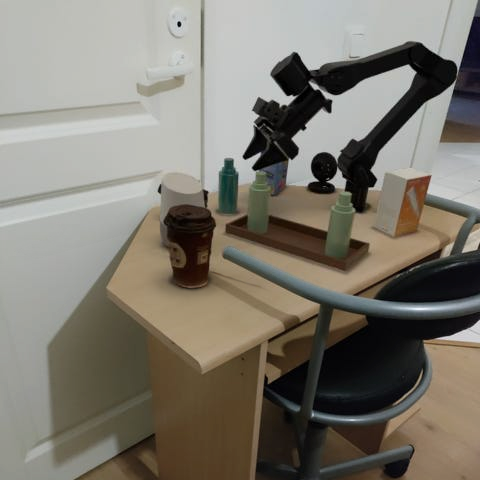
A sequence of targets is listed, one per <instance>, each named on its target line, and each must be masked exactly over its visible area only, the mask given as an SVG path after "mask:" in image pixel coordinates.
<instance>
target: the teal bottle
mask: <svg viewBox="0 0 480 480" xmlns="http://www.w3.org/2000/svg"><path fill="white" fill-rule="evenodd" d="M239 173H240V172H238V171H237V168H236V167H235V159H234V158H233V157H225V158H223V166H222V167H221V170H219V171H218V182H217V183H218V184H217V185H218V188H217V193H218V194H217V195H218V196H217V202H218V203H217V211H218V212H219V213H220V214H224V215H233V214H236V213H237V212H238V204H239V203H238V201H239V178H240V176H239Z"/></svg>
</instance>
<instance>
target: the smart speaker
mask: <svg viewBox="0 0 480 480" xmlns="http://www.w3.org/2000/svg"><path fill="white" fill-rule="evenodd" d="M199 180H200V179H198V178H196V177H194V176H193V175H190V174H187V173H183V172H177V171H175V172H174V171H173V172H167V173H166V174H164V175H163V176H162V177H161V183H160V184H161V194H160V208H159V209H160V210H159V232H160V233H159V234H160V238H161V241H162V243H163V245H164V246H165V247H167V248H168V240H167V226H166V225H165V224H164V223H163V220H164V218H165V216H166V215H167V213H168V212H169V211H168V210H169V209H170V208H171V207H173V206H178V205H183V204H187V205H188V204H189V205H194V206H198V207H204V208H205V203H204V195H203V190H204V188H203V184H202V183H201V180H200V181H199Z"/></svg>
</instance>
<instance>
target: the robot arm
mask: <svg viewBox="0 0 480 480" xmlns="http://www.w3.org/2000/svg"><path fill="white" fill-rule="evenodd" d="M406 66H409V67H410V68H411V69H412V71H413V72H415V74H414V76H413V78H412V81H411V84H410V86H409V89H408V90H407V91H406V92H405V93H404V94H403V95H402V96H401V98H400V99H398V101H397V102H396V103H395V104H394V105H393V106H392V107H391V109H389V110H388V111H387V112H386V113H385V115H384V116H383V117H382V118H381V119H380V120H379V121H378V122H377V123H376V124H375V126H374V127H373V128H372V129H371V130H370V131H369V132H368V134H366V136H364V137H363V138H361V139H360V140H356V139H355V138H351V139H350V140H349V141H348V143H347V144H346V145H345V146H344V148H342V149H341V150H340V149H339V152H340V154H339V156H338V157H337V159H336V161H337V166H338V167H337V170H338V171H340V172H341V177H342V179H345V185H344V191H343V192H350V193H351V194H352V195H351V201H350V203H352V205H353V206H352V207H353V208H354V209H355V212H357V213H364V212H365V210H366V209H368V208H369V207H370V205H371V204H370V203H369V202H367V198H368V194H369V189H371V188H372V189H373V188H375V186H376V184H377V182H378V178H377V176H376V175H375V174H374V173H373V172H372V169H373V167H374V165H375V164H376V162H377V160H378V156H379V153H380V152H381V150H383V148H384V147H385V146H386V145H387V144H388V143H389V142H390V141H391V140H392V139H393V138H394V136H395V135H396V134H397V133H398V132H399V131H400V130H401V129H402V128H403V127H404V126H405V125H406V124H407V122H409V121H410V120H411V118H412V117H413V116H414V115H415V114H416V113H417V112H418V111H419V110H420V109H421V108H422V107H423V106H424V105H425V103H427V102H428V101H429V102H430V101H431V100H432V99H434V98H437V97H438V96H440V95H441V94H443V93H444V92H445V91H447V90H448V89H449V88H451V86H453V84H454V83H455V82H456V81H457V78H458V73H459V72H458V65H457V63H456V62H455V61H454V60H451V59H447V58H443V57H442V56H440V55H439V54H437V53H435V52H434V51H432V50H431V49H429V48H428V47H427V46H425V45H424V44H423V43H422V42H419V41H414V40H409V41H408V40H407V41H406V42H404V43H402V44H400V45H399V44H398V45H397V46H393V47H391V48H388V49H384V50H382V51H378V52H376V53H373V54H370V55H367V56H364V57H361V58H357V59H353V60H339V61H331V62H326V63H324V64H322V65H320V67H319V68H316V69H310V70H309V68H308V67H307V65H306V64H305V63H304V61H303V60H302V58H301V55H300V54H299V53H298V52H297V51H292V52H291V53H290V55H288V56H286V57H284V58H283V59H282V60H280V61H278V62H277V63H276V64H275V65H274V66H273V68H272V69H271V70H270V73H269V76H270V77H271V79H272V80H273V81H274V82H275V83H276V85H277V86H278V87H279V89H280V90H281V91H282V93H283V94H284V95H285V96H286V97H290V96H292V97H293V99H292V100H291V101H290V102H289V103H288V105H287V104H282V105H281V104H280V103H279V102H278V101H276V100H274V99H270V100H269V101H268V100H266V99H264V98H262V97H260V96H258V97H257V99H256V101H255V103H254V105H253V106H252V109H251V111H252V112H254V114H255V115H258V117H257V118H255V120H254V121H253V126H252V128H253V136H252V138H251V140H250V142H249V144H248V145H247V147H246V148H245V151H244V152H243V154H242V157H241V158H242V159H243V160H244V161H247V160H249V159H252V158H253V157H256V156H257V155H258V154H261V152H262V151H264V150H265V151H264V152H263V153H262V154H261V156H260V155H259V157H258V158H257V160H255V162H254V163H253V165H252V166H251V169H252V171H253V172H258V171H259V170H260V169H263V168H266V167H268V166H271V165H274V164H277V163H280V162H283V161H288V159H287V156H288V157H289V160H291V161H293V160H294V159H295V158H296V157H297V156H299V153H300V147H299V146H298V145H297V144H296V142H295V141H294V140H293V138H294V137H295V136H296V135H297V134H298V133H300V131H302V132H305V131H306V130H307V129H308V128H307V126H306V125H307V124H308V123H309V122H310V121H312V119H313V118H314V117H315V116H316V115H317V114H319V112H320V111H321V110H322V111H323V112H325V113H327V114H328V115H329V114H330V115H331V114H332V113H333V112H332V111H333V108H332V107H333V103H334V100H333V99H331V98H326V96H325V95H324V94H323V92H324V93H327V94H329V95H331V96H341V95H343V94H344V93H346V92H348V91H350V90H351V89H354V88H355V87H356V86H357V85H359V84H360V83H361V82H363V81H364V80H367V79H371V78H373V77H376V76H379V75H382V74H385V73H388V72H391V71H394V70H396V69H399V68H403V67H406ZM312 84H313V85H316V86H317V87H318V88H319V89H318V88H317V89H314V87H313V86H312Z"/></svg>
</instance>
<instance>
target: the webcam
mask: <svg viewBox="0 0 480 480" xmlns="http://www.w3.org/2000/svg"><path fill="white" fill-rule="evenodd" d="M337 162H338V161H337V159H336V157H335V156H334V155H333V154H332V153H330V152H326V151H322V152H318V153H316V154H315V155H314V156H313V157H312V160H311V162H310V171H311V174H312V176H313V177H314V178H315V179H316V180H314V181H310V182H309V183H308V184H307V189H308V191H310V192H312V193H315V194H331V193H334V192H335V190H336V187H335V185H334V184H333V183H331V182H330V181H332V180H333V179H334V178H335V177H336V176H337V173H338V166H337Z"/></svg>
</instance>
